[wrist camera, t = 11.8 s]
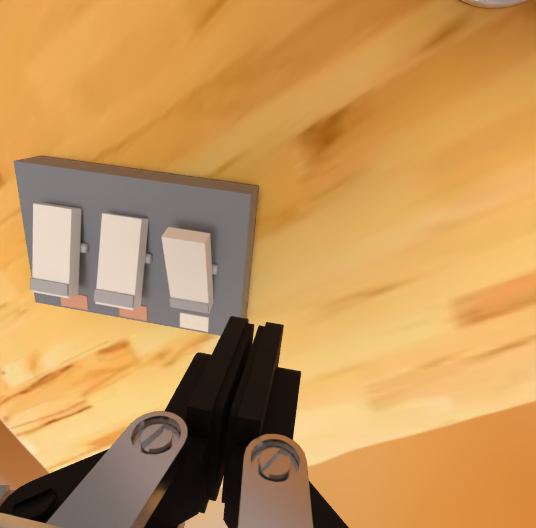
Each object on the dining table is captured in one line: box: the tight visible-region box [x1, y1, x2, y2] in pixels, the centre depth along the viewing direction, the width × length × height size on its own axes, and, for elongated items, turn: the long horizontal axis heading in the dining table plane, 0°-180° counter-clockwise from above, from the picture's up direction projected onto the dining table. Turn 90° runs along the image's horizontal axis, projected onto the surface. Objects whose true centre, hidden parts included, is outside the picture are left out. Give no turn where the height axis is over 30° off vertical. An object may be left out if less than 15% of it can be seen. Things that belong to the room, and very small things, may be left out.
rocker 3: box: [162, 227, 214, 314], centre depth 38 cm, size 9×4×2 cm, turn 174°
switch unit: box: [14, 156, 259, 335], centre depth 42 cm, size 16×24×5 cm, turn 84°
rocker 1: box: [30, 203, 81, 298], centre depth 39 cm, size 9×4×2 cm, turn 174°
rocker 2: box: [94, 213, 149, 310], centre depth 38 cm, size 9×4×2 cm, turn 174°
